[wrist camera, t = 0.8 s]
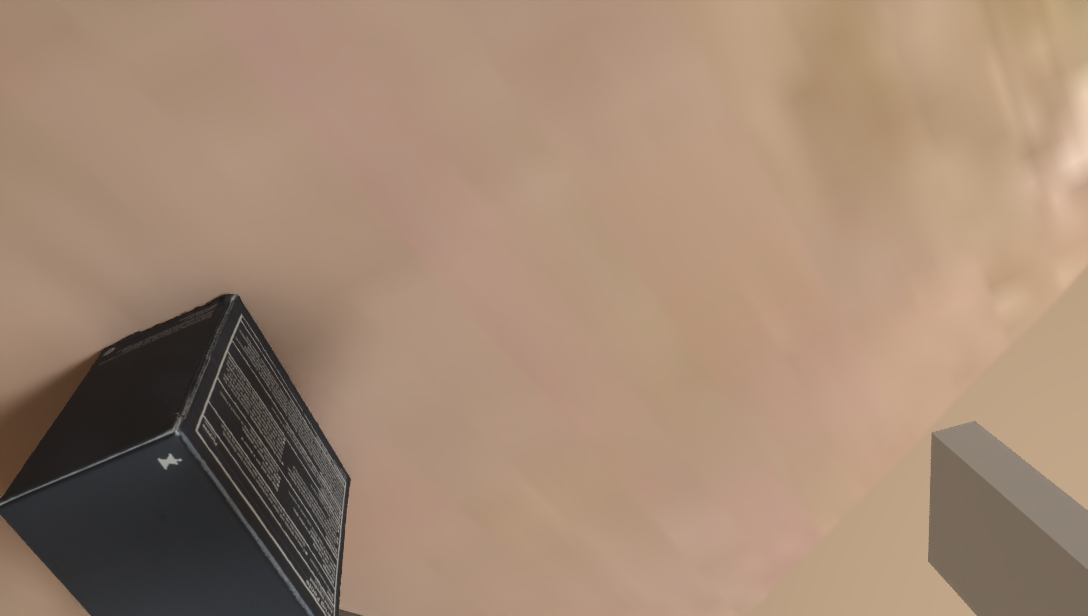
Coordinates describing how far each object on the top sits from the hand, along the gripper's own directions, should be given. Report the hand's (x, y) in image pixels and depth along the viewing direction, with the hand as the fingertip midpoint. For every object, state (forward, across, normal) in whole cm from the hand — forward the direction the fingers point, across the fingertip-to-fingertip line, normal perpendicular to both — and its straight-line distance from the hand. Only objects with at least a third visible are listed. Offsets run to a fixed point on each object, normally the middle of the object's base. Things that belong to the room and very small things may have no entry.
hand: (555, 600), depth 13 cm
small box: (+23, -11, -7) cm, 27 cm away
